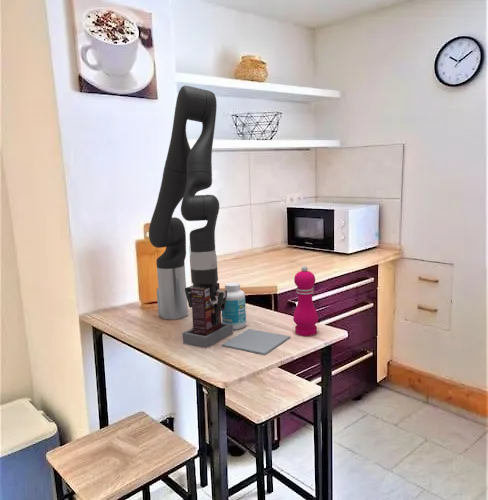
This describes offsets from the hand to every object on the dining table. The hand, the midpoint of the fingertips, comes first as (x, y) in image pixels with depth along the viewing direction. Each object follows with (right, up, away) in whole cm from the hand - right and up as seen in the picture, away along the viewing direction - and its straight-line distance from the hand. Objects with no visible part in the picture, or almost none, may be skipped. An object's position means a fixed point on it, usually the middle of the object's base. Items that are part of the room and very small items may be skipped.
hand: (207, 323), depth 135 cm
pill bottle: (+8, -3, +10) cm, 13 cm away
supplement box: (0, -5, +1) cm, 5 cm away
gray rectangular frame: (0, -5, +1) cm, 5 cm away
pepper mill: (+29, -3, +2) cm, 29 cm away
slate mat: (+14, -5, -4) cm, 15 cm away
